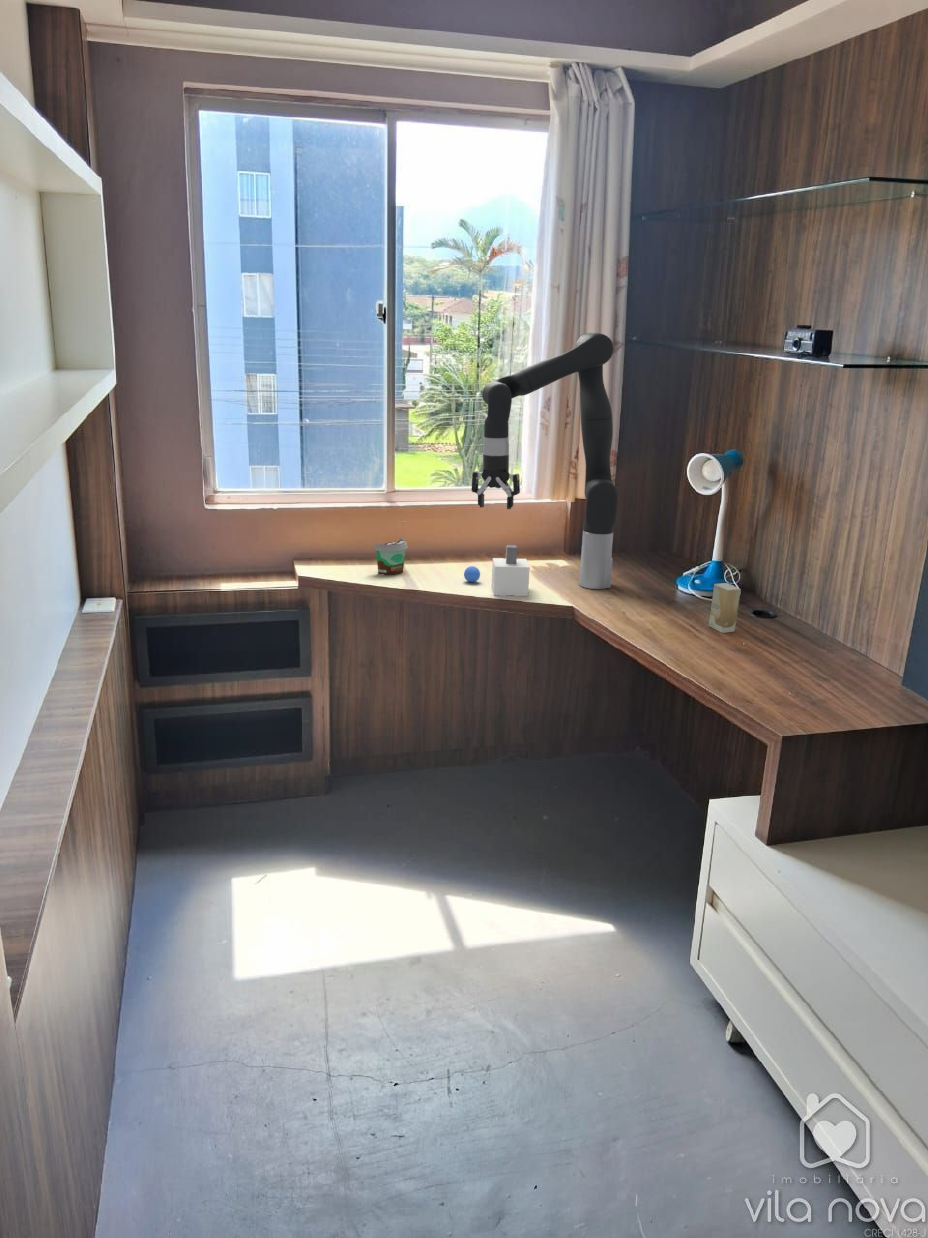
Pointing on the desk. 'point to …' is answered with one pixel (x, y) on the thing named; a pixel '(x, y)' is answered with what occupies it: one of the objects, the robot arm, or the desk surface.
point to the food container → (391, 557)
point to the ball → (472, 574)
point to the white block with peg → (510, 574)
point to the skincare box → (724, 607)
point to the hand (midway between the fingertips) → (495, 507)
